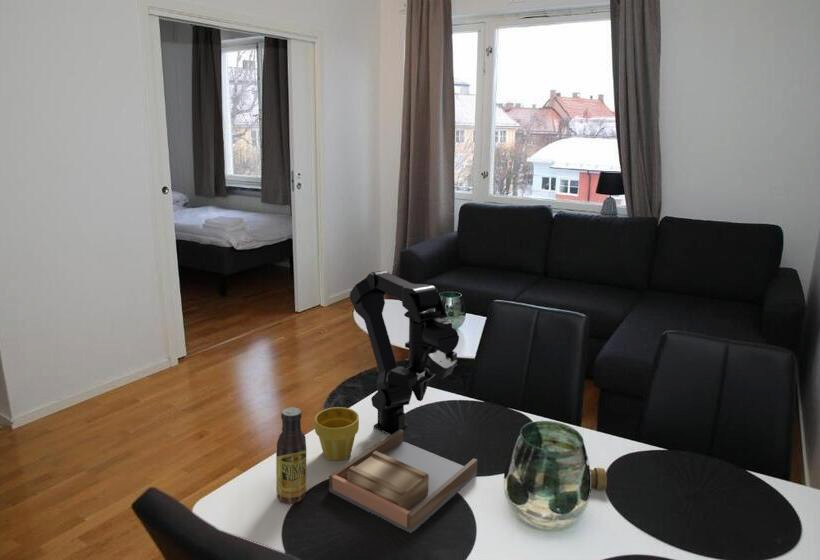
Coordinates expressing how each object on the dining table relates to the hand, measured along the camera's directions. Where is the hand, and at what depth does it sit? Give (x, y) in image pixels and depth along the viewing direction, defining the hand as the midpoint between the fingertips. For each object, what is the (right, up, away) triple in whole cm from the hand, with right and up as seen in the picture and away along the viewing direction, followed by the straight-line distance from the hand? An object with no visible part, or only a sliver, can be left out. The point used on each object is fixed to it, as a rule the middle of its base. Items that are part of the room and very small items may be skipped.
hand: (419, 400), depth 142 cm
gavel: (+36, -15, -2) cm, 40 cm away
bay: (-3, -16, -10) cm, 20 cm away
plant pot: (-20, -13, +1) cm, 24 cm away
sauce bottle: (-27, -17, -16) cm, 36 cm away
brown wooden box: (-7, -16, -15) cm, 24 cm away
